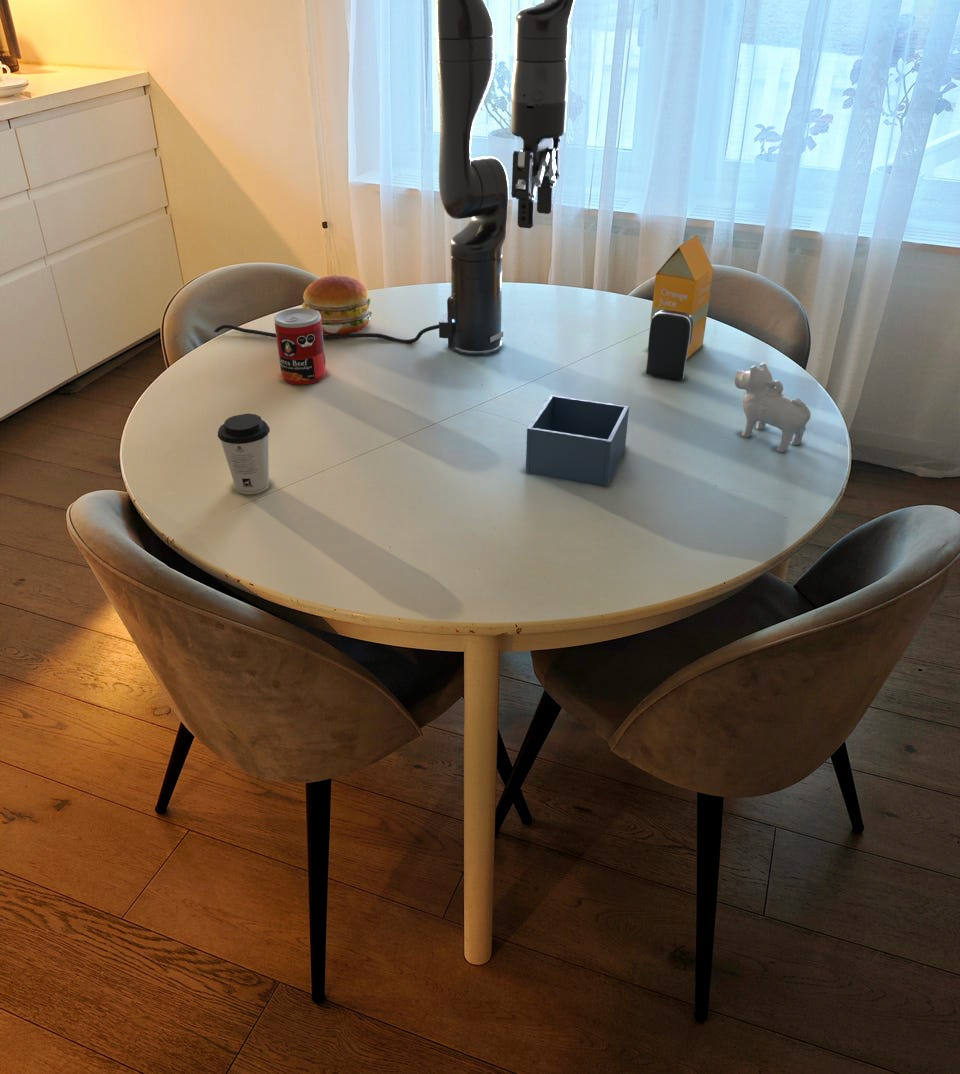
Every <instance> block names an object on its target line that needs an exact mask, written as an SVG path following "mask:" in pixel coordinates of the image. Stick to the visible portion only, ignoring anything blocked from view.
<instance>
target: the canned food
mask: <svg viewBox="0 0 960 1074" xmlns="http://www.w3.org/2000/svg"><path fill="white" fill-rule="evenodd" d="M273 319H274V320H273V321H274V330H275V333H276V337H275V338H276V345H277V353H278V357H279V358H278V359H279V366H280V374H281V377H282V379H283V381H285V382H286V383H288V384H291V385H297V386H298V385H301V386H302V385H309V384H310V385H311V384H315V383H318V382H320V381H322V380H323V379H324V378H325V376H326V374H327V364H326V353H325V343H324V342H325V341H324V339H323V335H324V334H323V331H322V322H321V316H320V313H319V312H318V311H316V310H313V309H307V308H303V307H297V308H290V309H286V310H283V311H280V312H278V313H277V314H275V316H274V318H273Z"/></svg>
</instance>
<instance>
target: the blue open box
mask: <svg viewBox="0 0 960 1074" xmlns="http://www.w3.org/2000/svg"><path fill="white" fill-rule="evenodd" d="M629 412H630V406H629V405H622V404H615V403H609V402H602V401H596V400H589V399H582V398H574V397H569V396H560V395H555V394H550V395H549V396H548V398H547V399H546V400H545V402H544V404H543V405H542V406H541V408H540V409H539V411H538V412H537V414H536V415H535V417H534V418H533V419H532V421H531V422H530V424H529V425H528V426H527V428H526V446H525V447H526V451H525V473H529V474H535V475H541V476H547V477H551V478H559V479H563V480H569V481H575V482H581V483H587V484H592V485H599V486H603V487H608V485H609V483H610V481H611V479H612V477H613V475H614V472H615V471H616V468H617V467H618V465H619V462H620V460H621V458H622V456H623V454H624V452H625V450H626V442H627V432H628V423H629Z"/></svg>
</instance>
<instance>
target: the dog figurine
mask: <svg viewBox="0 0 960 1074" xmlns="http://www.w3.org/2000/svg"><path fill="white" fill-rule="evenodd" d="M734 386H735V387H736V388H737V389H739V390H745V391H746V394H745V395H744V397H743V399H742V409H743V412H744V415H745V422H746V423H745V428H744V430H743V431H742V432H741V436H742V437H744V438H749V437H751V436H752V434H753V433H754V432H753V430H754V428H755V429H757V430H761V431H763V430H765V429H766V425H769V426H772V427H774V428H777V429H778V430H781V440H780V443H779V445H778V447H777V448H776V451H777V452H779V453H785V452H786V451H787V449H788V448H789V445H793V446H798V445H800V444H801V443H802V439H803V436H804V433H805V431H806V430H807V429H806V425H807V424H808V422H809V421H810V419H811V411H810V408H809V407H808V406H807V404H806V403H805V402H803V401H802V400H801V398H798V397H794V398H792V399H791V398H790V397H788V396H786V395H785V394H783V391H784V384H783V383H782V382H781V381H779V380H773V375H772V372H771V371H770V369H769V367H768V366H767V364H766V363H764V362H762V363H759V364H758V367H757V366H756V365H751V366H750V367H749V370H744V369H740V370H739V369H738V370H737V371H736V373H735V375H734Z"/></svg>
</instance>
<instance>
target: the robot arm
mask: <svg viewBox="0 0 960 1074" xmlns="http://www.w3.org/2000/svg"><path fill="white" fill-rule="evenodd" d="M575 1H576V0H543V1H542V2H540V3H539V4H538V3H537V4H535V5H532V6H529V7H526V8H523V9H520V10H519V11H518V12H517V14H516V16H515V19H514V20H515V21H514V47H513V48H514V51H513V52H514V53H513V56H514V57H513V58H514V59H513V68H512V76H511V112H510V132H511V134H512V135H513V136H515V137H518V138H521V139H522V147H521V150H514V151H513V153H512V169H511V170H512V171H511V191H510V188H509V187H510V186H509V185H510V184H509V179H508V174H507V170H506V168H505V166H504V165H503V163H502V162H501V161H500V160H499V159H498V158H497V157H494V156H480V157H475V158H471V157H472V156H471V155H472V150H471V148H472V147H471V146H472V136H473V130H474V126H475V122H476V119H477V116H478V113H479V112H480V109H481V107H482V105H483V103H484V100H485V98H486V96H487V94H488V91H489V88H490V86H491V83H492V80H493V77H494V73H495V66H496V65H495V64H496V59H495V57H496V56H495V27H494V21H493V18H492V16H491V13H490V11H489V9H488V7H487V5H486V4H485V1H484V0H434V11H435V12H434V13H435V16H434V17H435V38H436V39H435V47H436V49H435V50H436V66H437V79H438V91H439V92H438V93H439V94H438V95H439V152H438V153H439V154H438V155H439V156H438V189H439V197H440V201H441V205H442V206H443V210H444V211H445V213H446V215H448V216H449V218H452V219H454V220H464V219H470V221H468V223H467V224H466V226H465V227H464V228H463V229H461V230H460V231H459V232H458V233H456V234H455V235H454V236H453V237H451V240H450V245H449V246H450V247H449V249H450V251H449V252H450V295H449V297H448V298H447V300H446V313H443V314H442V316H441V318H440V320H439V322H438V324H435V325H431V326H428V327H425V328H422V329H421V330H420V331H419V332H418V333H416V334H417V335H416V336H415V337H414V338H410V339H402V338H397V337H394V336H390V335H387V334H383V333H376V332H355V333H351V334H341V335H326V334H323V340H338V339H352V338H377V339H378V338H379V339H383V340H387V341H391V342H397V343H404V344H413V343H416V342H418V341H419V340H420V339H421V337H422V335H423V334H425V333H428V332H430V331H435V330H438V338H439V339H447V349H451V350H453V351H454V352H457V353H460V354H464V355H469V356H484V355H489V354H493V353H496V352H497V351H499V350H501V348H502V338H503V337H504V331H502V307H503V306H502V301H503V300H502V299H503V297H502V295H503V290H502V289H503V248H504V247H503V246H504V243H505V241H506V237H507V230H508V229H507V227H508V226H507V225H508V215H509V214H508V213H509V196H510V194H511V198H514V199H516V200H517V227H518V228H521V229H532V228H533V227H534V225H535V207H536V212H537V213H538V214H543V215H544V214H545V215H550V214H551V213H552V212H553V203H554V187H556V183H557V180H559V179H560V176H561V173H560V172H561V171H560V168H561V141H562V140H561V137H562V136H564V135H565V134H566V130H567V129H566V128H567V127H566V126H567V107H568V88H569V87H568V86H569V73H568V71H569V70H568V48H569V30H570V29H569V27H570V23H571V17H572V13H573V9H574V5H575ZM510 192H511V193H510ZM536 195H537V196H536ZM535 198H536V200H535ZM535 202H536V203H535ZM535 205H536V206H535ZM224 329H230V330H233V331H237V332H241V333H246V334H252V335H260V336H266V337H269V338H270V337H272V338H276V332H275V333H274V332H269V331H263V330H257V329H250V328H245V327H240V326H236V325H232V324H227V323H226V324H221V325H219V326H218V327H216V328H215V329H214V330H213V333H218V332H220V331H221V330H224Z"/></svg>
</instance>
